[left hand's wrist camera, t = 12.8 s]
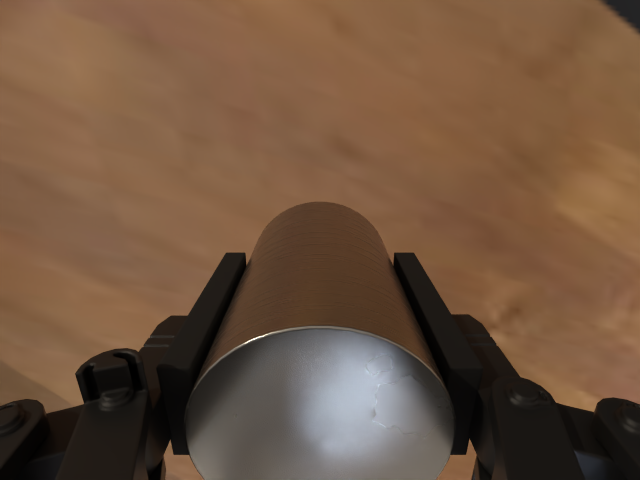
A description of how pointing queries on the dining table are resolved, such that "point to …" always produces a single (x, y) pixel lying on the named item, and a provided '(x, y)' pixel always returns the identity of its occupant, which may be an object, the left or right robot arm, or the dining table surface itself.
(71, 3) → the dining table surface
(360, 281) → the tin
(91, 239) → the dining table surface
